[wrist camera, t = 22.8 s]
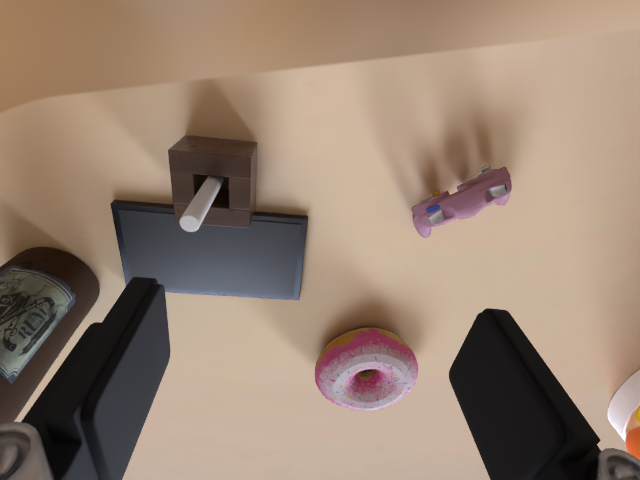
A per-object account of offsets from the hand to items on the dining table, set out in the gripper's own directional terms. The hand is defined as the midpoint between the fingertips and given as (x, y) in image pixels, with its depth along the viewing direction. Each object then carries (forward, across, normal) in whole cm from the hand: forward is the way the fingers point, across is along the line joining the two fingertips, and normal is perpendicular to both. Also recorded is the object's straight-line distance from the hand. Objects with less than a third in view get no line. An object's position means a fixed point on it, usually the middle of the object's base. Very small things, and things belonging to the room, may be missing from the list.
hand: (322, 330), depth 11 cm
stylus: (+27, +8, +6) cm, 28 cm away
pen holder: (+27, +8, +6) cm, 28 cm away
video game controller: (+27, -16, +5) cm, 32 cm away
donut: (+26, -12, +30) cm, 42 cm away
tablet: (+26, +9, +16) cm, 32 cm away
